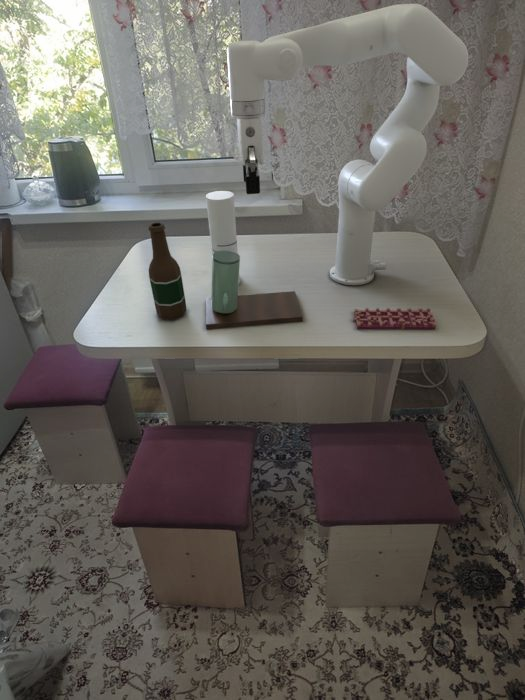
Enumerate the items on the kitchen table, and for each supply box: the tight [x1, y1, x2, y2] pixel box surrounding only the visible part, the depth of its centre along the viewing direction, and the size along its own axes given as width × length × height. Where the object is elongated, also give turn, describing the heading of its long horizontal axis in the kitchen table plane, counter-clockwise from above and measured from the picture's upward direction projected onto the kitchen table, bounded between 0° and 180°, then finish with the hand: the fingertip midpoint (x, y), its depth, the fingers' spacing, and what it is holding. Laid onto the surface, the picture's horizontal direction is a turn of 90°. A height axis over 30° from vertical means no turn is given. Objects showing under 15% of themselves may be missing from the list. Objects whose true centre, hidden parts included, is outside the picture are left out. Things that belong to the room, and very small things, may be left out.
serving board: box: [205, 290, 304, 330], centre depth 117 cm, size 24×13×2 cm, turn 95°
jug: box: [210, 251, 241, 313], centre depth 111 cm, size 7×9×14 cm
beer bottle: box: [148, 222, 187, 321], centre depth 111 cm, size 8×8×24 cm
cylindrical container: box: [205, 190, 241, 285], centre depth 124 cm, size 7×7×25 cm
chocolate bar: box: [352, 307, 437, 330], centre depth 111 cm, size 7×19×2 cm, turn 87°
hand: (251, 187), depth 110 cm, fingers open, 9 cm apart
